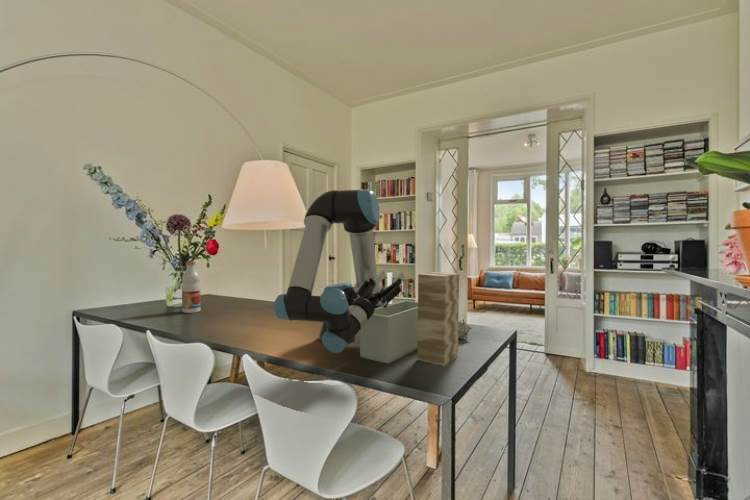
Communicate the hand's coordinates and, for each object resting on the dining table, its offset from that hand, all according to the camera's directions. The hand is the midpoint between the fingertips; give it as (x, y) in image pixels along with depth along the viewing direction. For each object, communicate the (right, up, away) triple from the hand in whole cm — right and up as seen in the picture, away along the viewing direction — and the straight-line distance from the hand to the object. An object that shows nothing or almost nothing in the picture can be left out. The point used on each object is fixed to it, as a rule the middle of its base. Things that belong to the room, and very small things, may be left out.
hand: (393, 273), depth 133 cm
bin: (+2, -29, +5) cm, 30 cm away
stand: (+16, -30, -4) cm, 34 cm away
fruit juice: (-111, -26, +73) cm, 135 cm away
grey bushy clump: (+29, -29, +21) cm, 46 cm away
